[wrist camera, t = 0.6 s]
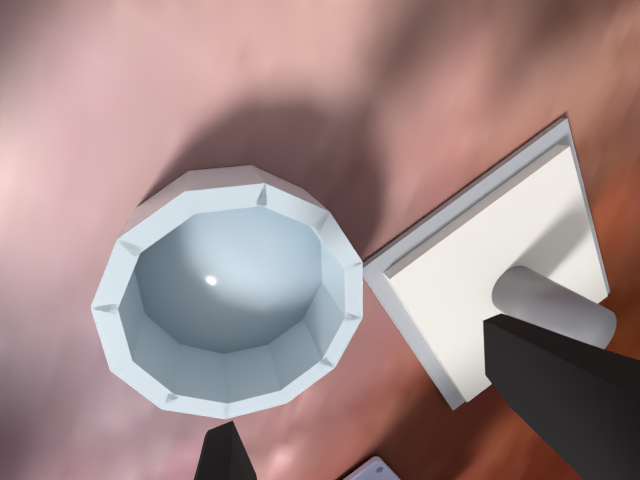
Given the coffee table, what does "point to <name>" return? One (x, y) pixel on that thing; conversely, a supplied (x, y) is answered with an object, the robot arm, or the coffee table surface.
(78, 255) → the coffee table surface
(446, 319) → the lid
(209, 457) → the robot arm
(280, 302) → the bowl
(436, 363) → the mat
